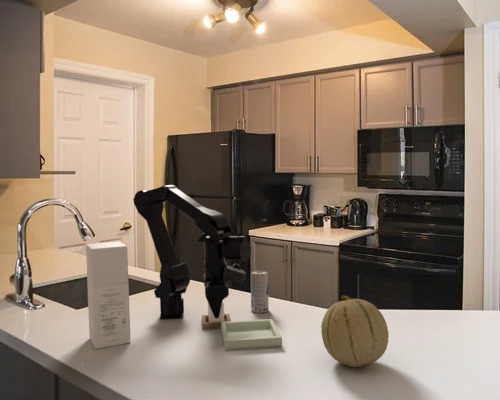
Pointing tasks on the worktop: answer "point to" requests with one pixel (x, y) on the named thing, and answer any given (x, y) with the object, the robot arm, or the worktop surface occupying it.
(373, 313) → the cantaloupe
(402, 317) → the worktop surface
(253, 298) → the energy drink
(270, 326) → the tray
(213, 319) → the salt shaker
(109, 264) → the tall white carton
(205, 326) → the holder
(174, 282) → the robot arm
